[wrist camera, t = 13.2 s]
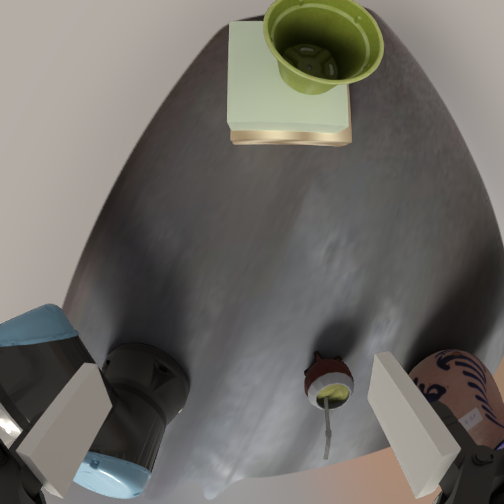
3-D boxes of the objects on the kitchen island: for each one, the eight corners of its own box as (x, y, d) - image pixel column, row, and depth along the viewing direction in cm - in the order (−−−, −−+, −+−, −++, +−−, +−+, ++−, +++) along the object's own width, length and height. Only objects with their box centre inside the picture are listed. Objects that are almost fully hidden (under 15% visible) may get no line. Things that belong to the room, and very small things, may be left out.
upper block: (231, 130, 32) (227, 122, 27) (233, 40, 29) (229, 21, 24) (336, 133, 32) (348, 126, 27) (331, 44, 29) (341, 27, 24)
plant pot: (257, 32, 25) (257, -13, 16) (345, 33, 24) (370, -6, 16) (265, 111, 27) (269, 84, 18) (358, 110, 26) (393, 88, 18)
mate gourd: (335, 339, 43) (364, 403, 28) (351, 374, 44) (378, 438, 29) (290, 359, 43) (302, 429, 29) (309, 392, 45) (324, 460, 30)
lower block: (234, 144, 37) (230, 139, 32) (233, 50, 34) (230, 34, 29) (340, 146, 37) (351, 142, 32) (335, 53, 33) (344, 39, 29)
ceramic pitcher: (393, 345, 43) (469, 454, 18) (484, 322, 42) (567, 390, 18) (379, 419, 47) (422, 519, 22) (464, 393, 46) (520, 466, 22)
